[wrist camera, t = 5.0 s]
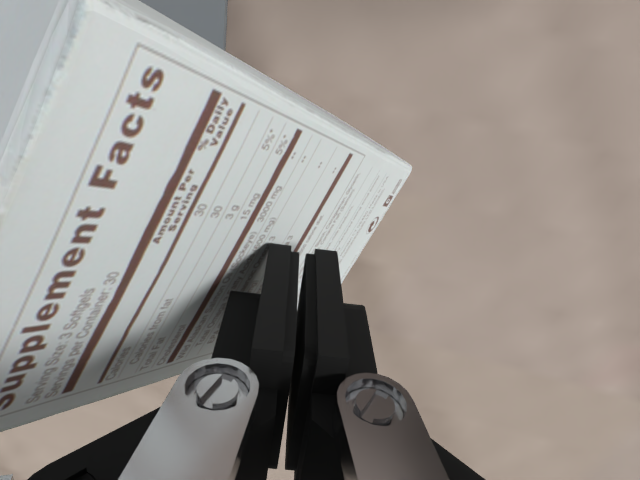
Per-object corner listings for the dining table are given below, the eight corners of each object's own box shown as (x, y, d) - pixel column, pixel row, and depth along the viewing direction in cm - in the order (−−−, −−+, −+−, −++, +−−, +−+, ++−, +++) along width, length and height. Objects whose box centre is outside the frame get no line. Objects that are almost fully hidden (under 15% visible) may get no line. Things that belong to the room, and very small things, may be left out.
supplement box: (193, 231, 20) (-258, 204, 9) (273, 78, 19) (-163, -186, 7) (313, 339, 17) (-135, 493, 6) (423, 169, 16) (71, -42, 4)
